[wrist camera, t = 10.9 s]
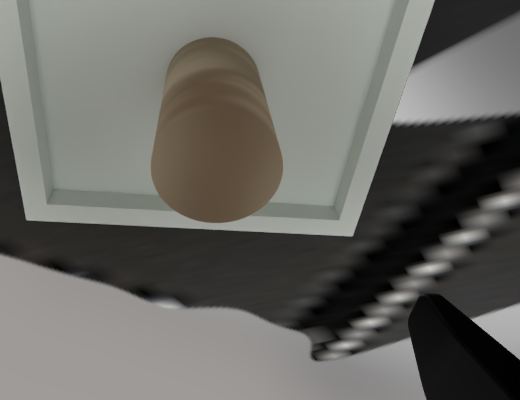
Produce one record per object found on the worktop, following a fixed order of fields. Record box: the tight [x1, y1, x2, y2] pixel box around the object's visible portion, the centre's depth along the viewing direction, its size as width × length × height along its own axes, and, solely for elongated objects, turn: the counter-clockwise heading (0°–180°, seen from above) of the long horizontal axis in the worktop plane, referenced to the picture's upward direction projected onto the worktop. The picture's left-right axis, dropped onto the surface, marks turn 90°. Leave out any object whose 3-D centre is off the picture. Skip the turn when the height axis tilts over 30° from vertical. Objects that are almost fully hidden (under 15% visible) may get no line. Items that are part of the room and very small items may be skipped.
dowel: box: [151, 37, 283, 223], centre depth 17 cm, size 4×4×7 cm
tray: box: [0, 0, 435, 236], centre depth 19 cm, size 16×14×2 cm
